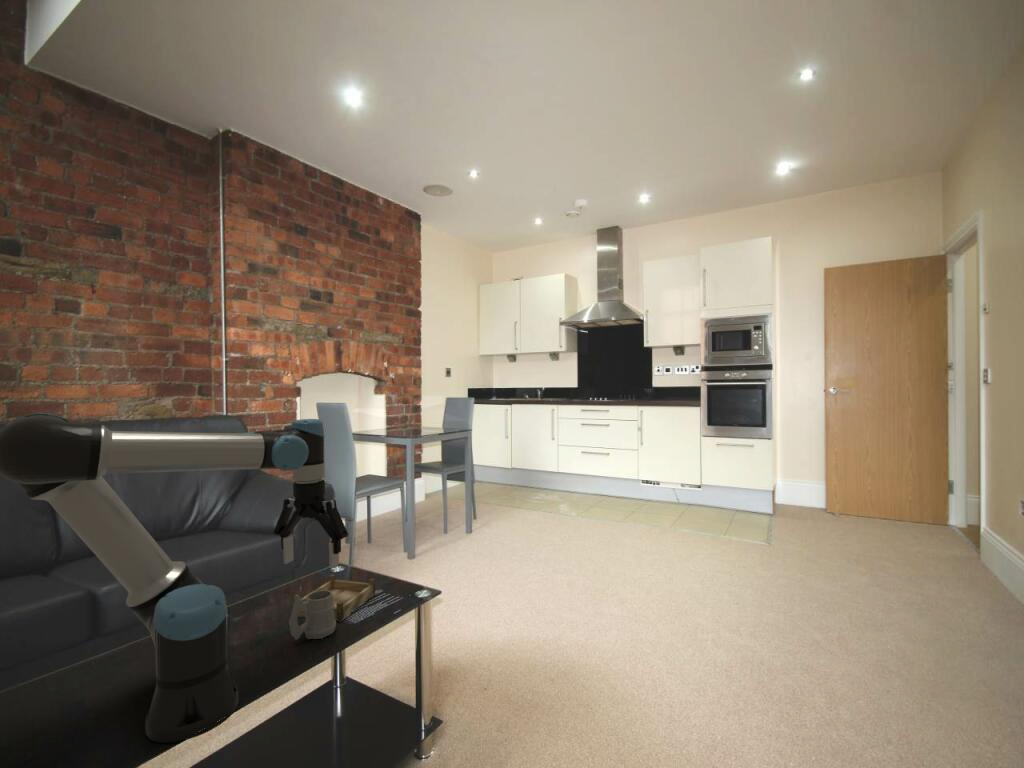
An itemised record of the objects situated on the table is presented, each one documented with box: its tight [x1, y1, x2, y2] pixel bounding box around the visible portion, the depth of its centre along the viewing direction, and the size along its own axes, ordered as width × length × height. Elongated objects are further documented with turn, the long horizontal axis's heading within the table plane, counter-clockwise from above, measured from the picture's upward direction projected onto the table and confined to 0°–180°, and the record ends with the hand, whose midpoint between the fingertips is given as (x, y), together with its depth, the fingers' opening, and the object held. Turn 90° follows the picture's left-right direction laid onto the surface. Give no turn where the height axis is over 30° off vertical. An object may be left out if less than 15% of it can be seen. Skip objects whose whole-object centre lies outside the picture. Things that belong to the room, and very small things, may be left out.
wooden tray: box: [292, 574, 376, 621], centre depth 142 cm, size 17×15×5 cm
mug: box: [288, 590, 337, 641], centre depth 125 cm, size 8×12×12 cm, turn 142°
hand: (311, 564), depth 125 cm, fingers open, 13 cm apart
